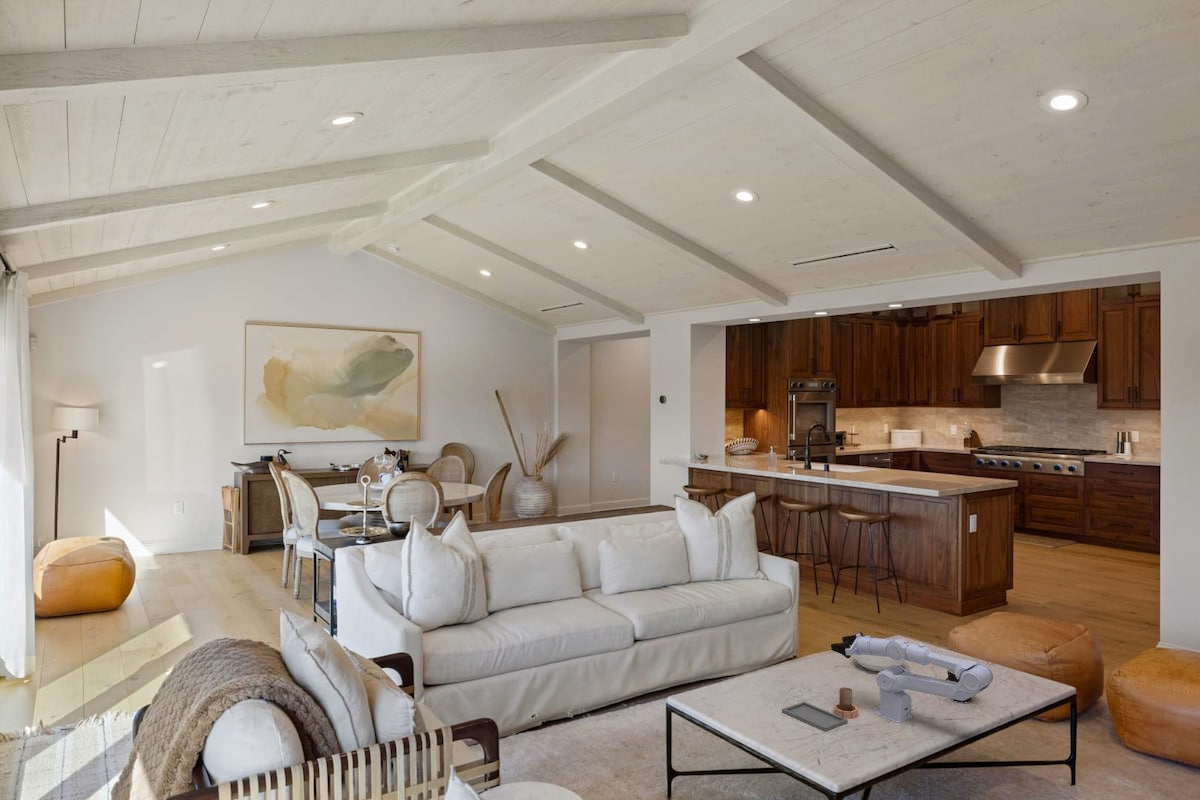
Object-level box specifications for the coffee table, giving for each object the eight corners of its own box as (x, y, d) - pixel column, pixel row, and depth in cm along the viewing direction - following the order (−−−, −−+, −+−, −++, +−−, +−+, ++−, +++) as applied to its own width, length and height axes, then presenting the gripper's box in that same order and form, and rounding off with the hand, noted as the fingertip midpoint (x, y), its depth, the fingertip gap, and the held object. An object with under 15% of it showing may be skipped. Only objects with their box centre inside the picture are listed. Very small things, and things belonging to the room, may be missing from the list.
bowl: (900, 680, 289) (900, 657, 289) (846, 670, 300) (846, 648, 299) (909, 664, 306) (909, 643, 306) (858, 655, 316) (858, 635, 316)
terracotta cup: (864, 716, 258) (864, 708, 258) (848, 722, 253) (848, 714, 253) (843, 707, 265) (843, 700, 265) (827, 713, 260) (827, 706, 260)
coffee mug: (966, 694, 276) (966, 666, 276) (979, 704, 267) (979, 675, 267) (934, 695, 275) (934, 666, 275) (945, 704, 267) (945, 675, 267)
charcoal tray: (847, 724, 252) (847, 719, 252) (825, 732, 245) (825, 728, 245) (803, 705, 266) (803, 701, 266) (781, 713, 260) (781, 709, 260)
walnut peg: (854, 714, 258) (854, 690, 258) (846, 717, 256) (846, 693, 256) (844, 710, 262) (844, 686, 261) (836, 713, 259) (836, 689, 259)
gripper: (881, 628, 268) (845, 625, 278) (860, 641, 258) (824, 638, 268) (885, 648, 268) (849, 645, 278) (864, 663, 258) (828, 659, 268)
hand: (837, 643), depth 273 cm, fingers open, 7 cm apart
